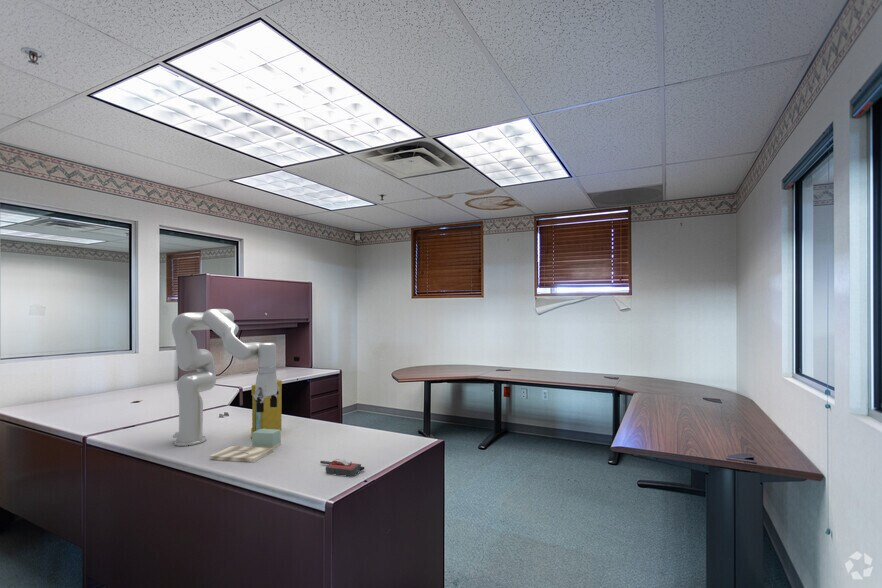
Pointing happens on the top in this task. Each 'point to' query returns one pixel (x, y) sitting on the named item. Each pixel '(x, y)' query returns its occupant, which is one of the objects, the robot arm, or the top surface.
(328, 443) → the top surface
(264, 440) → the block
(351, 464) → the walkie-talkie
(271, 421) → the book
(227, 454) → the board
